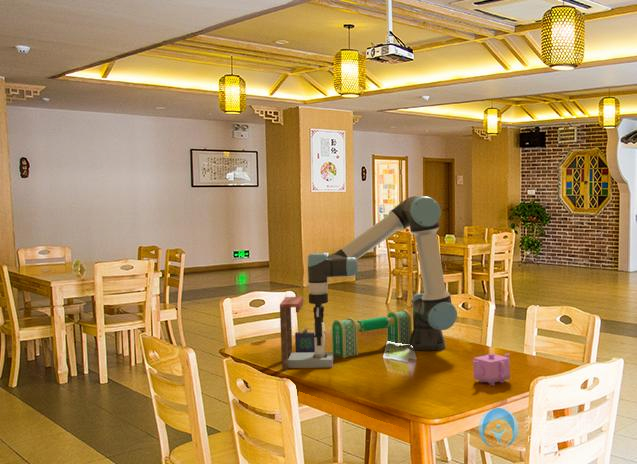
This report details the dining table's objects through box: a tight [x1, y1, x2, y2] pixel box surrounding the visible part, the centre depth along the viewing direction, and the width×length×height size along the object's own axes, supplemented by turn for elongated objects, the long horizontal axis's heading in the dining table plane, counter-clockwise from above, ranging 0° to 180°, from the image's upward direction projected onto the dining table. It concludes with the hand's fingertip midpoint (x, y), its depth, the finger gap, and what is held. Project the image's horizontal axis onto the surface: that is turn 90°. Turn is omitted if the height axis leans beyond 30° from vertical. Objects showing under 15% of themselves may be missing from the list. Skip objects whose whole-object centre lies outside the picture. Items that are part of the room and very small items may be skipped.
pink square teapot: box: [472, 353, 511, 386], centre depth 233 cm, size 18×13×10 cm
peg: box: [313, 321, 326, 358], centre depth 264 cm, size 4×4×14 cm
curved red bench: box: [279, 296, 304, 371], centre depth 265 cm, size 7×18×25 cm, turn 176°
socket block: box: [288, 351, 335, 369], centre depth 265 cm, size 17×12×3 cm
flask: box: [294, 327, 315, 353], centre depth 282 cm, size 9×3×11 cm, turn 88°
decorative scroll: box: [331, 309, 413, 358], centre depth 286 cm, size 36×8×15 cm, turn 122°
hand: (320, 351), depth 264 cm, fingers closed on peg, 4 cm apart
